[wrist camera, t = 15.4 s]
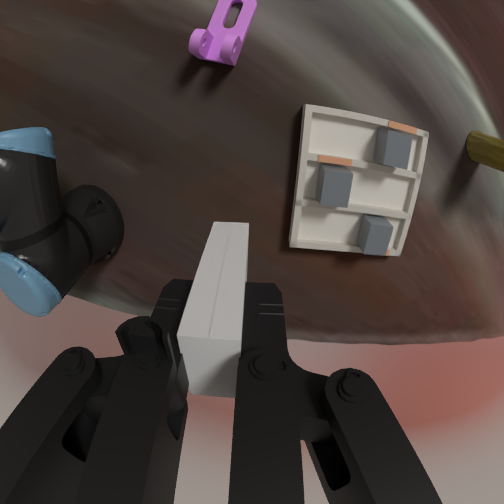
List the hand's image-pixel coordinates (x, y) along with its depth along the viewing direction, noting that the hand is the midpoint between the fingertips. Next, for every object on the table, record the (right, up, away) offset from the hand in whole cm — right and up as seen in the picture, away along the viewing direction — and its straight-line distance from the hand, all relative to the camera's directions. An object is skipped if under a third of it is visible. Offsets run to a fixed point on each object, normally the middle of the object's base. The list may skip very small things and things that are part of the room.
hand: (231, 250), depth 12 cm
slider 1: (+13, +10, +26) cm, 31 cm away
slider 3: (+20, +4, +29) cm, 36 cm away
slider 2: (+21, +16, +23) cm, 35 cm away
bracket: (-2, +33, +17) cm, 37 cm away
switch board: (+18, +11, +28) cm, 35 cm away
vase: (+42, +20, +22) cm, 51 cm away
